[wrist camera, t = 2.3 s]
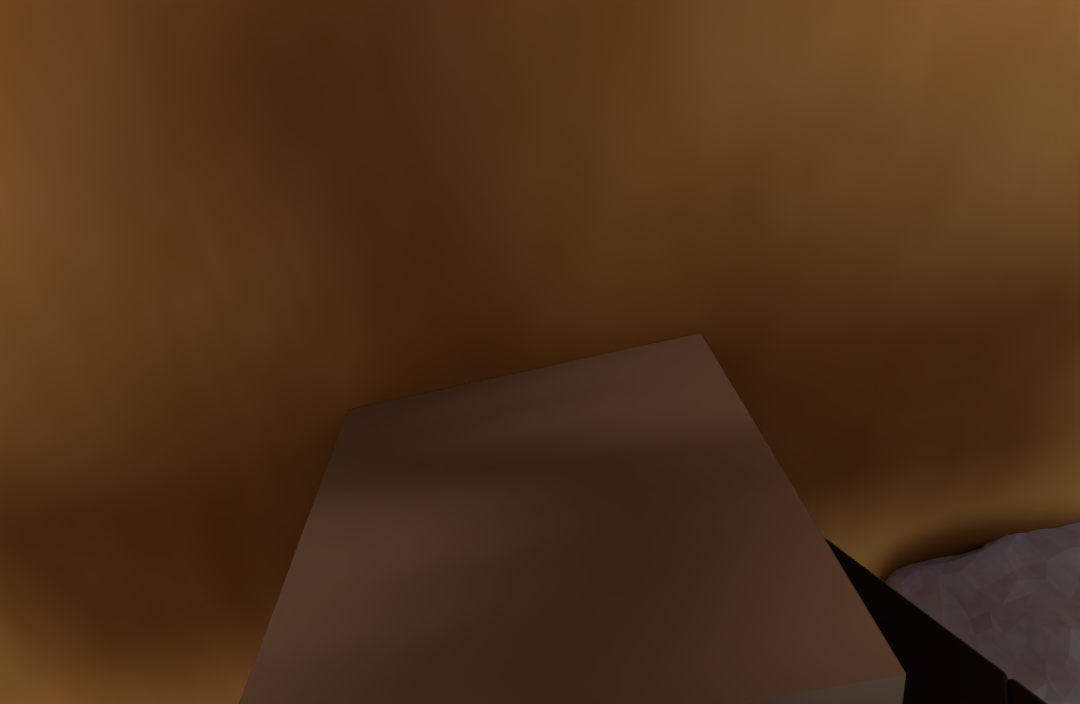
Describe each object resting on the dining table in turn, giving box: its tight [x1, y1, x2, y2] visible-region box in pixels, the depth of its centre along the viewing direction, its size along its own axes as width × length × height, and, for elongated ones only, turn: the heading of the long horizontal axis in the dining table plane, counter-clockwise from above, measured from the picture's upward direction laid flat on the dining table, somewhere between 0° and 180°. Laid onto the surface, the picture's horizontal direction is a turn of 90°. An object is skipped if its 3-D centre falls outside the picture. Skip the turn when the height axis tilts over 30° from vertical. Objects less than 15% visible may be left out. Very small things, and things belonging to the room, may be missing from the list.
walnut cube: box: [239, 333, 906, 704], centre depth 8 cm, size 5×5×5 cm
